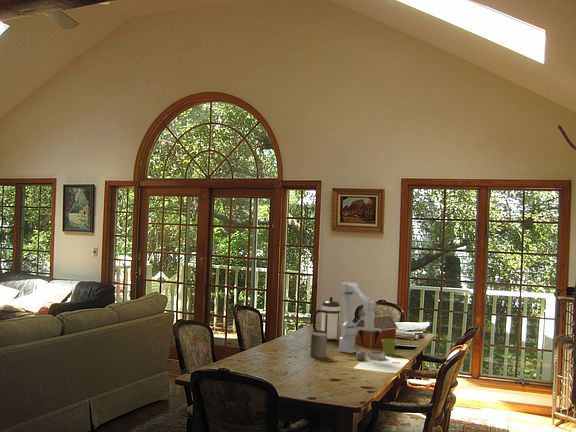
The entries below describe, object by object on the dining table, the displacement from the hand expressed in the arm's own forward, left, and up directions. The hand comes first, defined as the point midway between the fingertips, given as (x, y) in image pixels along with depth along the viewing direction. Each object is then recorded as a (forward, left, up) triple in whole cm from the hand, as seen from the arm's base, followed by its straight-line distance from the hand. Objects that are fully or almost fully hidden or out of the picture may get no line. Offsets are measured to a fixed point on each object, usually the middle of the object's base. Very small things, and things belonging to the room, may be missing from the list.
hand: (368, 343), depth 364 cm
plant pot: (+7, +22, -10) cm, 25 cm away
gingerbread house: (-9, +47, -10) cm, 49 cm away
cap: (-3, -4, -10) cm, 11 cm away
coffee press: (-42, +43, -10) cm, 61 cm away
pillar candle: (-28, -10, -10) cm, 32 cm away
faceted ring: (+4, +6, -10) cm, 12 cm away
